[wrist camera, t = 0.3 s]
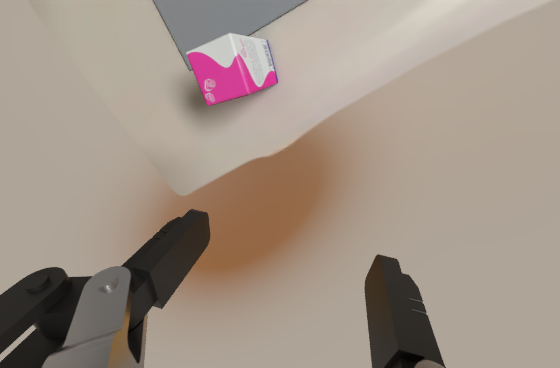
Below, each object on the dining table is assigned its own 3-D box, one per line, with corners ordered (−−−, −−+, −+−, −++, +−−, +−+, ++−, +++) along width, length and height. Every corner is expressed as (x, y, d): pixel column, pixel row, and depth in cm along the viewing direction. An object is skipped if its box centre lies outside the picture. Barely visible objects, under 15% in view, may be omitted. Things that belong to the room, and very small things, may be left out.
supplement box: (231, 53, 32) (183, 49, 22) (267, 39, 30) (232, 29, 20) (244, 93, 34) (205, 107, 25) (279, 83, 32) (252, 93, 23)
